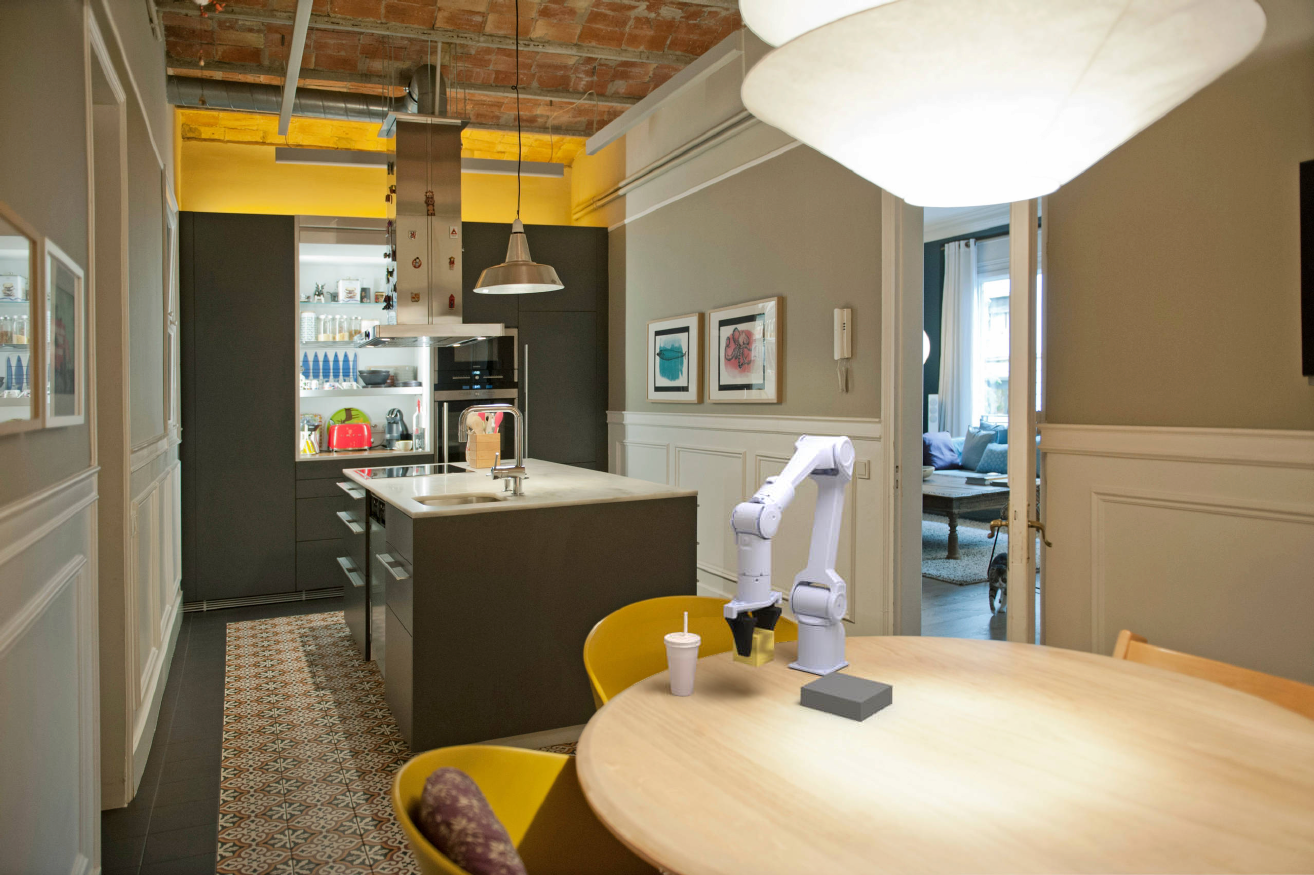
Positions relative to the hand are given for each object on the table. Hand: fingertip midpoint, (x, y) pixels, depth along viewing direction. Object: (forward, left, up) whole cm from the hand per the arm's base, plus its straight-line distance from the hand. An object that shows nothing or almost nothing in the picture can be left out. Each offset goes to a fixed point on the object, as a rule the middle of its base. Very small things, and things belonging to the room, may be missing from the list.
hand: (753, 652), depth 143 cm
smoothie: (+7, -10, -8) cm, 14 cm away
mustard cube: (0, 0, -2) cm, 2 cm away
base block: (-7, +14, -8) cm, 18 cm away
